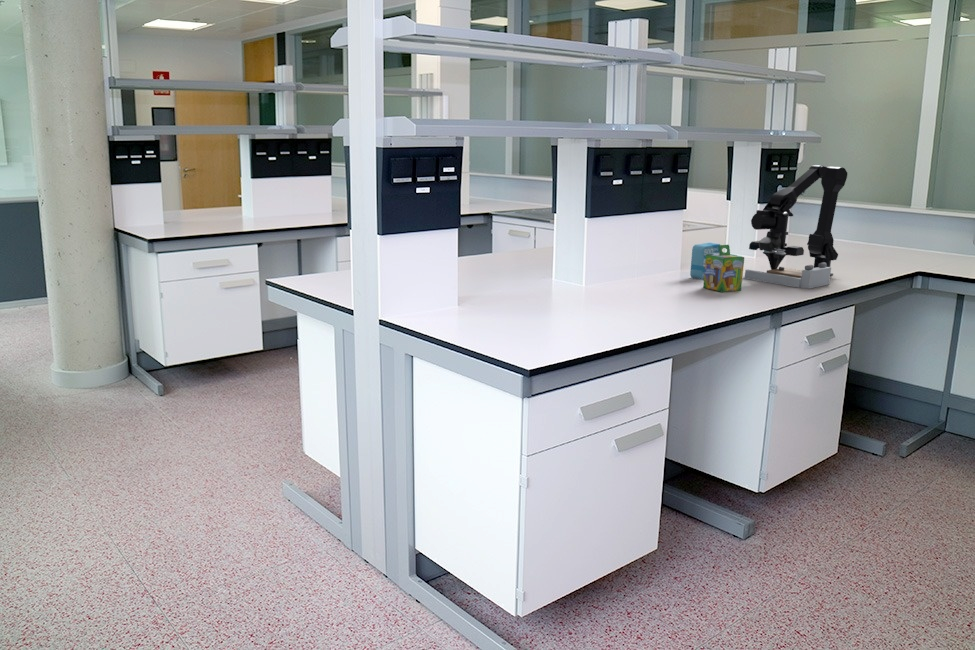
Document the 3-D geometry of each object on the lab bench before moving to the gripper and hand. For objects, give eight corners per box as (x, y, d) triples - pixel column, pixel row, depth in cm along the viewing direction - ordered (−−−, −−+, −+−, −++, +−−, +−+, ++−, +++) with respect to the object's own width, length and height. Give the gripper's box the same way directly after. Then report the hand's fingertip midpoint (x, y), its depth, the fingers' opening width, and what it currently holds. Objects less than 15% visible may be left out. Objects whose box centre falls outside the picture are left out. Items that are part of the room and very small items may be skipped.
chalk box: (721, 292, 259) (725, 247, 256) (702, 287, 267) (705, 244, 264) (742, 290, 264) (746, 246, 260) (722, 285, 271) (726, 242, 268)
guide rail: (747, 277, 288) (747, 269, 287) (801, 287, 272) (802, 278, 271) (744, 278, 287) (745, 269, 286) (798, 287, 271) (799, 278, 270)
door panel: (781, 278, 290) (783, 264, 289) (815, 283, 280) (817, 270, 279) (765, 281, 283) (766, 267, 282) (799, 287, 274) (800, 273, 272)
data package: (700, 280, 281) (703, 246, 278) (689, 278, 284) (692, 244, 282) (718, 276, 289) (721, 243, 286) (708, 274, 292) (711, 242, 289)
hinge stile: (820, 282, 280) (823, 261, 278) (829, 284, 278) (831, 262, 276) (800, 287, 272) (802, 265, 270) (808, 288, 269) (811, 266, 268)
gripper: (742, 227, 285) (738, 270, 289) (790, 233, 272) (784, 278, 275) (759, 225, 292) (755, 267, 296) (807, 231, 278) (801, 275, 282)
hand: (773, 271), depth 287 cm, fingers closed
